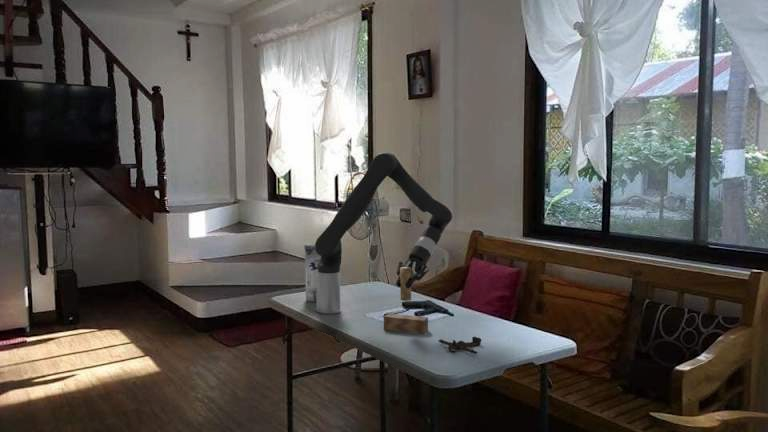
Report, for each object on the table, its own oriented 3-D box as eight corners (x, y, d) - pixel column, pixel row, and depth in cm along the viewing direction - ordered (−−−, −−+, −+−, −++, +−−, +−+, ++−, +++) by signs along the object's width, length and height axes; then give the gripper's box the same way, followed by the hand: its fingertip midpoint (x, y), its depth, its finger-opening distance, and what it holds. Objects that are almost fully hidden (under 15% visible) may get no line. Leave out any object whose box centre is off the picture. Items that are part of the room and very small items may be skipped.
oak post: (398, 300, 231) (398, 268, 229) (402, 297, 234) (402, 266, 233) (408, 301, 229) (408, 269, 228) (412, 298, 233) (412, 267, 232)
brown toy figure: (497, 342, 207) (467, 346, 198) (496, 355, 207) (466, 359, 198) (459, 331, 221) (429, 334, 212) (458, 342, 221) (428, 346, 212)
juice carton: (302, 300, 281) (301, 242, 279) (319, 296, 289) (318, 239, 287) (316, 303, 276) (315, 243, 273) (332, 299, 283) (332, 241, 281)
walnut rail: (383, 329, 233) (383, 316, 233) (388, 326, 238) (388, 313, 238) (423, 333, 227) (423, 320, 227) (427, 330, 232) (427, 317, 231)
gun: (423, 322, 248) (455, 318, 254) (423, 315, 247) (455, 311, 254) (397, 307, 269) (427, 303, 275) (397, 301, 269) (427, 297, 275)
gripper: (404, 243, 240) (383, 278, 232) (432, 246, 230) (412, 283, 223) (413, 254, 244) (392, 289, 237) (441, 258, 235) (421, 295, 227)
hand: (402, 286), depth 230 cm, fingers closed on oak post, 4 cm apart
